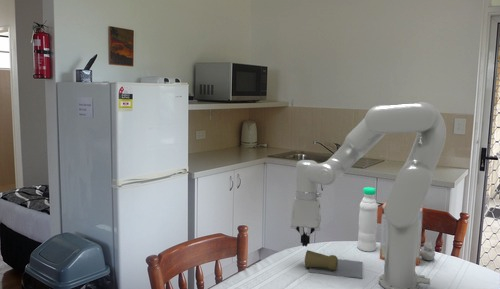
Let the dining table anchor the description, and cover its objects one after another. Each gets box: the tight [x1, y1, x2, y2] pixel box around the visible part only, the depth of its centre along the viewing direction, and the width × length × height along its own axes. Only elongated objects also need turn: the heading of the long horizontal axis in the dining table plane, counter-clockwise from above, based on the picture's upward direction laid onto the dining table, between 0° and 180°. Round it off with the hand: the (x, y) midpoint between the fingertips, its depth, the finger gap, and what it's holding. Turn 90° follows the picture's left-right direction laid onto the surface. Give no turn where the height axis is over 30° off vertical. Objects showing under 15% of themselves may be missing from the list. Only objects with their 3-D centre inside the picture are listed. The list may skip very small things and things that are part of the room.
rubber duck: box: [420, 240, 436, 261], centre depth 161 cm, size 5×7×8 cm
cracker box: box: [379, 202, 424, 266], centre depth 159 cm, size 14×6×21 cm, turn 64°
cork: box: [304, 249, 339, 270], centre depth 151 cm, size 6×6×11 cm
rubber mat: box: [308, 258, 364, 280], centre depth 153 cm, size 18×14×1 cm
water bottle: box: [357, 186, 379, 252], centre depth 169 cm, size 7×7×25 cm
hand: (305, 245), depth 153 cm, fingers closed
